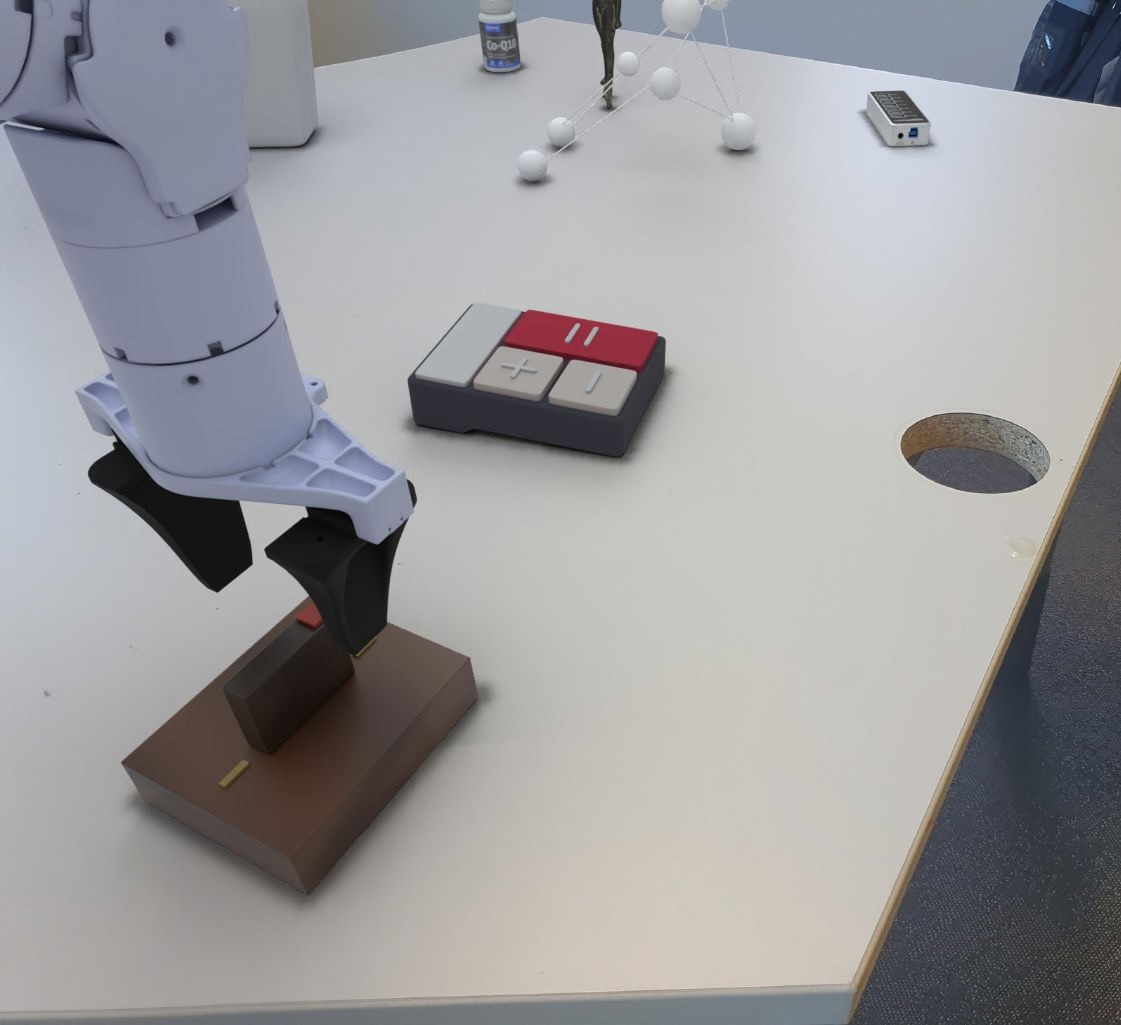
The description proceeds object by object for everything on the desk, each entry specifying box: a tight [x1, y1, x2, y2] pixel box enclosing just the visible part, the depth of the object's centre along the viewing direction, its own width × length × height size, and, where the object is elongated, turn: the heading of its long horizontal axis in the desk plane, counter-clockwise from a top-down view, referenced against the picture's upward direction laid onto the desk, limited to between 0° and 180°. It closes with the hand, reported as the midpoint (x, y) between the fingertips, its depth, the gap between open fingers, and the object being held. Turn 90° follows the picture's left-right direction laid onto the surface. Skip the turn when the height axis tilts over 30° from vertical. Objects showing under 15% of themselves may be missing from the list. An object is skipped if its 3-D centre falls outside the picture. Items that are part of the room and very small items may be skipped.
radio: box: [227, 0, 319, 148], centre depth 101 cm, size 22×8×25 cm, turn 93°
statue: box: [591, 0, 623, 109], centre depth 111 cm, size 5×6×20 cm
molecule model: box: [516, 0, 757, 182], centre depth 99 cm, size 14×25×18 cm, turn 97°
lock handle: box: [221, 603, 355, 755], centre depth 44 cm, size 6×1×4 cm, turn 152°
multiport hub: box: [865, 89, 932, 147], centre depth 110 cm, size 4×11×2 cm, turn 5°
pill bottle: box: [477, 0, 522, 73], centre depth 125 cm, size 5×5×8 cm
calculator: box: [406, 302, 667, 458], centre depth 69 cm, size 11×4×15 cm
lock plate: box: [120, 595, 479, 896], centre depth 47 cm, size 12×10×3 cm
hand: (295, 605), depth 42 cm, fingers open, 7 cm apart
